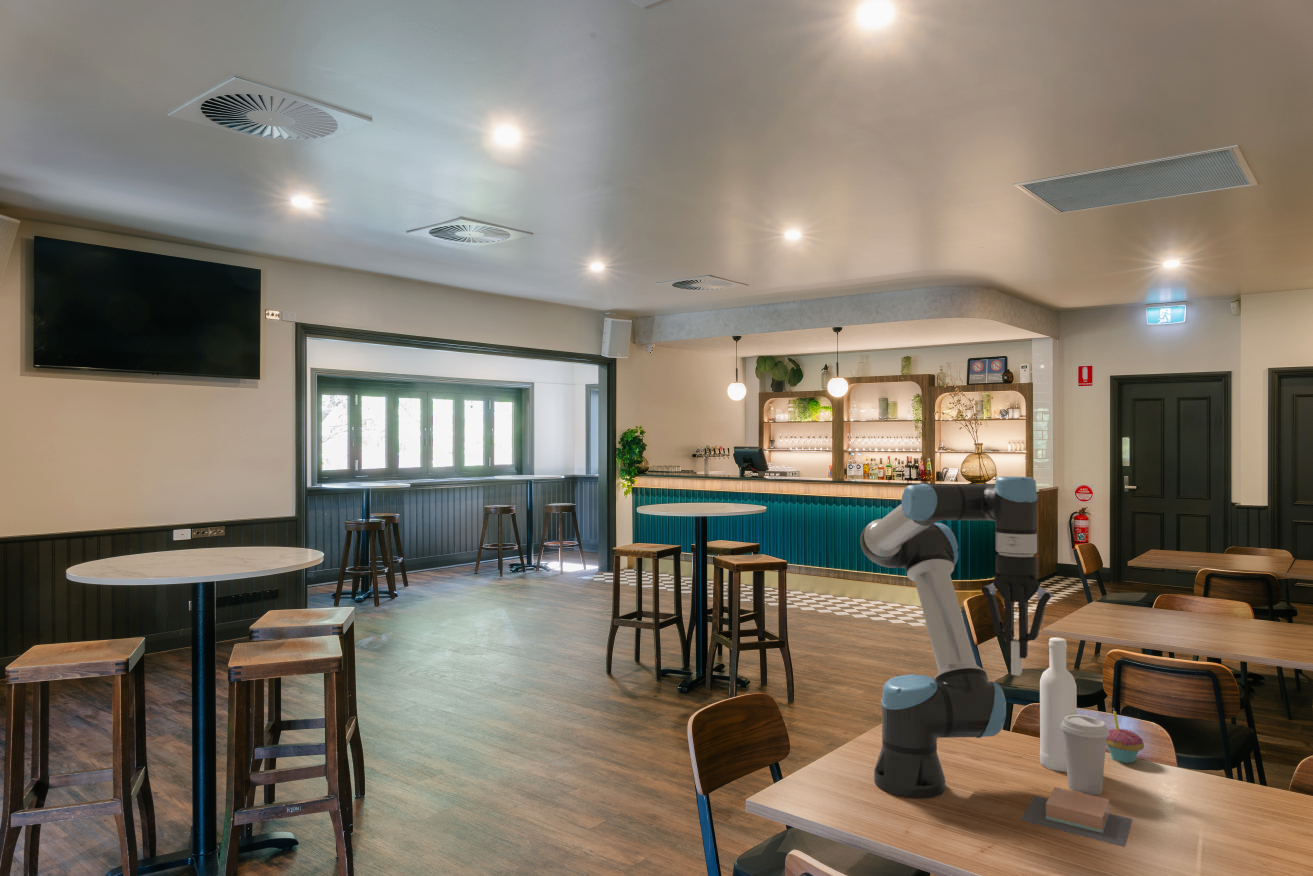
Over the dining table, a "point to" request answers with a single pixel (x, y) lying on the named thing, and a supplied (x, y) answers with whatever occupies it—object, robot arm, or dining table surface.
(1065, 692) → the bottle
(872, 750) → the dining table surface
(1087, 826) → the tile
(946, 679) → the robot arm
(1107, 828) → the mat
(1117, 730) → the cupcake
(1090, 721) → the coffee cup
